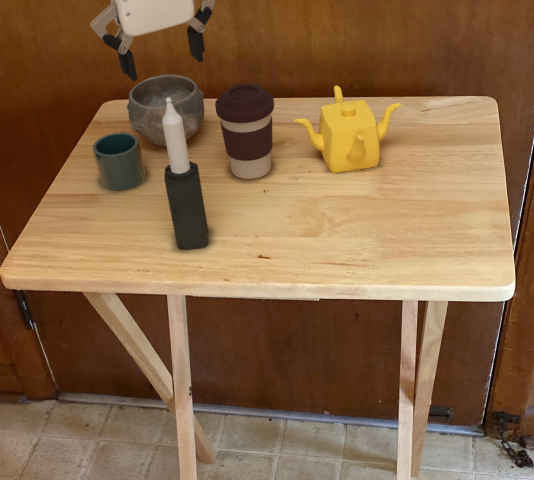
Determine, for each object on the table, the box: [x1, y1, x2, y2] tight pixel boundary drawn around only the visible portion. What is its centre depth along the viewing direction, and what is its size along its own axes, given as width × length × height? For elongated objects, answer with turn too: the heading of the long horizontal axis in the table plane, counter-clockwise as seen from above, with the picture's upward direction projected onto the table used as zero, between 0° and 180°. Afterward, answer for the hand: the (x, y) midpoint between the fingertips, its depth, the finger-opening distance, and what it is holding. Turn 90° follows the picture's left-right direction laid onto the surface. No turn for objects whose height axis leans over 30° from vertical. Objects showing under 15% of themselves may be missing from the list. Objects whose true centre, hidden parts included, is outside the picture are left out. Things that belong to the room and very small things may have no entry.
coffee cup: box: [214, 82, 275, 180], centre depth 141 cm, size 10×10×15 cm
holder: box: [92, 132, 146, 191], centre depth 145 cm, size 8×8×7 cm
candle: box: [162, 97, 209, 251], centre depth 123 cm, size 5×5×25 cm
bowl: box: [126, 74, 205, 147], centre depth 154 cm, size 14×15×10 cm
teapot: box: [293, 85, 402, 174], centre depth 144 cm, size 15×14×10 cm
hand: (164, 67), depth 112 cm, fingers open, 9 cm apart
